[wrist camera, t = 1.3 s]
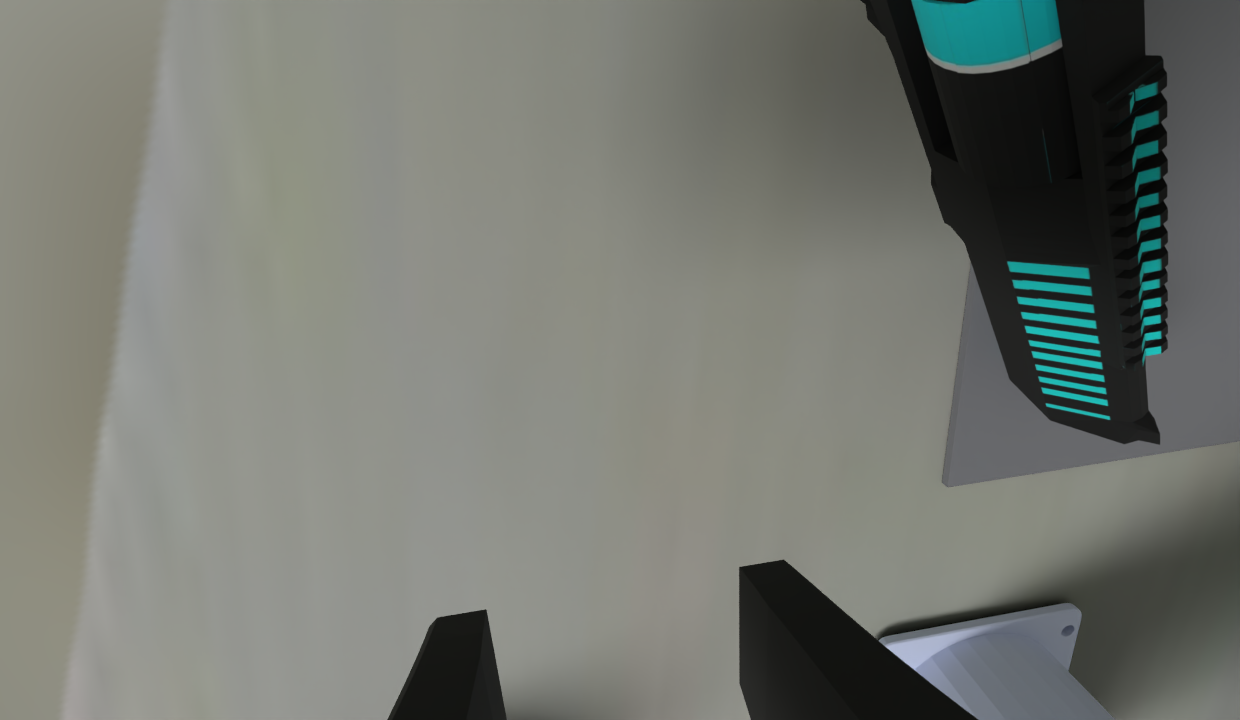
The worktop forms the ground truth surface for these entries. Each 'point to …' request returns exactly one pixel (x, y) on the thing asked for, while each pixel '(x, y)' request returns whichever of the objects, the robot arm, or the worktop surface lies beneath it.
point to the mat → (1197, 284)
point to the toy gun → (1050, 187)
